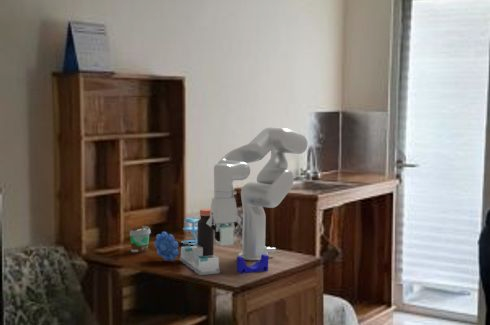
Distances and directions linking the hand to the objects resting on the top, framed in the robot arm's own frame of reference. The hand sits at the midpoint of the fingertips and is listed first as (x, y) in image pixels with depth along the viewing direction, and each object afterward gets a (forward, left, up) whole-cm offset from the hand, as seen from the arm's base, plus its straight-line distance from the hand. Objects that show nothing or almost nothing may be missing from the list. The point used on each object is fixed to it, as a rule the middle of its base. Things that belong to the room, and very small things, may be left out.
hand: (224, 239), depth 285 cm
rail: (+10, -1, -11) cm, 15 cm away
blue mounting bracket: (-7, +11, -11) cm, 17 cm away
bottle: (+2, -16, -11) cm, 20 cm away
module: (0, 0, -2) cm, 2 cm away
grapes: (+20, -14, -11) cm, 27 cm away
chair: (-2, -43, -11) cm, 45 cm away
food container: (+24, -34, -11) cm, 43 cm away
